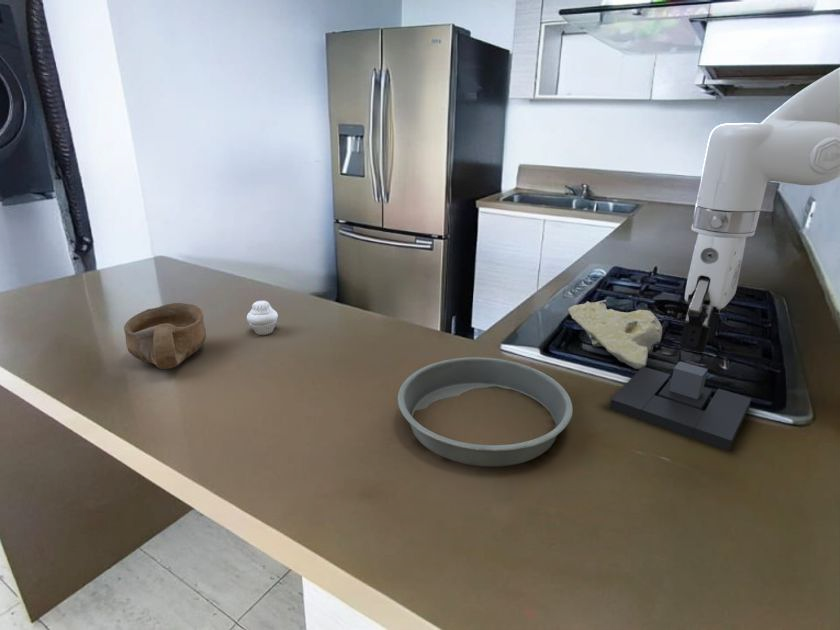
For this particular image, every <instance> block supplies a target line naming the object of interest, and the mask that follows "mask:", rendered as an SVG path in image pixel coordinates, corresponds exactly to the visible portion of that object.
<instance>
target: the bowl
mask: <svg viewBox="0 0 840 630" xmlns="http://www.w3.org/2000/svg"><path fill="white" fill-rule="evenodd" d="M123 331H124V335H125V345H126V349H127V351H128V353H130V355H132V356H133V357H134V358H136V359H137V360H140V361H142V362H145V363H148V364H154V365H155V366H156V367H157V368H158V369H161V370H170V369H173V368H176V367H177V366H179V365H180V364H181V363H182V362H183V361H185V360H186V359H187V358H189V357H191V356H192V355H193V354H194V353H196V352H197V351H198V350H199V349H200V348H201V347H202V346H203V345H204V343H205V341H206V338H207V330H206V325H205V321H204V313H203V311H202V309H201V308H200V307H199V306H197V305H195V304H189V303H185V302H173V303H166V304H163V305H160V306H158V307H157V306H156V307H153V308H152V307H151V308H147V309H145V310H143V311H141V312H139V313H137V314H135V315H133V316H132V317H130V318H129V319H128V320H127V321H126V323H125V324H124V326H123Z"/></svg>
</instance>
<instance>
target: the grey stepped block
mask: <svg viewBox="0 0 840 630" xmlns="http://www.w3.org/2000/svg"><path fill="white" fill-rule="evenodd" d="M708 370H709V369H708V368H705V367H702V366H698V365H694V364H691V363H687V362H684V361H679V362H677V364H676V365H675V366H674V368H673V372H672V376H671V377H670V381H669V382H668V383H667V384H666V385H665V387H664V388H663V389H662V390H661V392H660V393H659V394H658V396H659V397H662V398H665V399H668V400H671V401H674V402H677V403H681V404H684V405H687V406H690V407H693V408H696V409H699V410H702V411H705V409H706V408H707V406H708V404H709V403H710V401H711V400H712V395H713V388H709V387H706V386H705V383H706V379H707V374H708Z"/></svg>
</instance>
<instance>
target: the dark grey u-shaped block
mask: <svg viewBox="0 0 840 630" xmlns="http://www.w3.org/2000/svg"><path fill="white" fill-rule="evenodd" d="M671 377H672V376H671V374H670V373H667V372H663V371H659V370H657V369H653V368H650V367H646V366H645V367H642V368H641V369H639V370H638V371H637V372H636V373H635V374H634V375H633V376H632V377H631V378H630V379H629V380H628V381H627V382H626V383H625V384H624V386H622V387H621V389H619V390H618V391H617V393H616V394H615V395H614V396H613V397H612V398H611V399H610V403H609V404H610V405H609V409H610V410H613V411H615V412H618V413H621V414H623V415H626V416H629V417H632V418H635V419H637V420H641V421H643V422H646V423H649V424H651V425H655V426H658V427H660V428H663V429H666V430H668V431H671V432H674V433H677V434H680V435H682V436H685V437H688V438H691V439H694V440H697V441H699V442H702V443H705V444H708V445H710V446H713V447H716V448H719V449H722V450H725V451H727V452H729V451H730V450H731V447H732V445H733V443H734V441H735V439H736V437H737V434H738V432H739V430H740V428H741V426H742V424H743V421H744V420H745V417H746V415H747V413H748V411H749V409H750V406H751V402H752V398H751V397H749V396H746V395H742V394H738V393H735V392H732V391H729V390H724V389H721V388H718V389H717V390H716V391H715V393H714V394H713V397H711V399H710V401H709V402H708V404H707V406H706V407H705V409H704V410H703V411H702V410H699V409H696V408H693V407H690V406H687V405H684V404H681V403H677V402H674V401H671V400H668V399H665V398H662V397H659V396H658V394H659V393H660V392H661V390H662V389H663V388H664V387H665V385H666V384H667V383H668V382H669V381H670V379H671Z"/></svg>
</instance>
